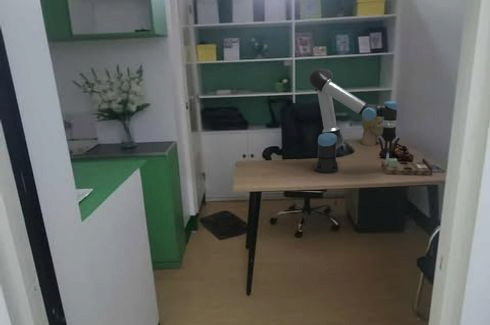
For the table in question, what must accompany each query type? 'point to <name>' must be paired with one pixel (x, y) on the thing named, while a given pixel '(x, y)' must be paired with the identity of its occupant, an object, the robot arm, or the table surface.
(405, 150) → the character figurine
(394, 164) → the block
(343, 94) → the robot arm
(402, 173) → the board
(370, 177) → the table surface
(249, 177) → the table surface
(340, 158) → the table surface
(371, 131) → the bust
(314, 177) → the table surface
